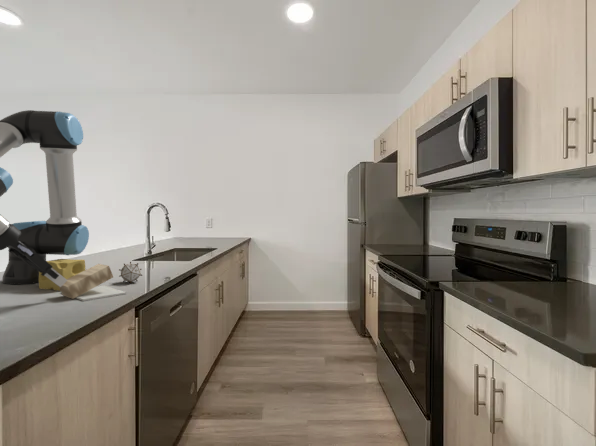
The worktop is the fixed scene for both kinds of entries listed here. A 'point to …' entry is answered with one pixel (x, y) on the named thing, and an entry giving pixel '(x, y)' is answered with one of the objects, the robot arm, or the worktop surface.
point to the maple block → (86, 280)
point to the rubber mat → (99, 293)
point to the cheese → (61, 271)
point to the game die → (130, 272)
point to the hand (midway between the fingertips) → (63, 283)
